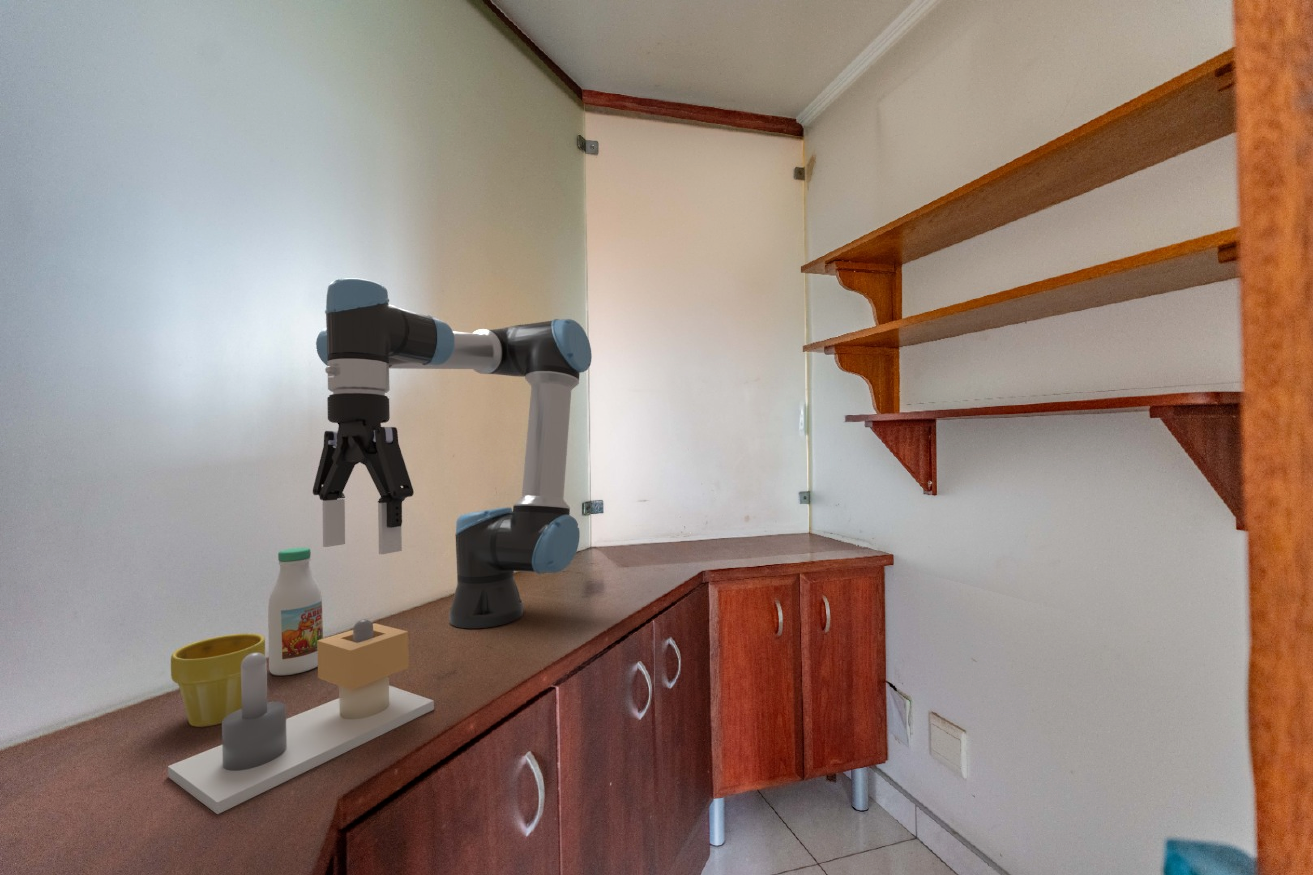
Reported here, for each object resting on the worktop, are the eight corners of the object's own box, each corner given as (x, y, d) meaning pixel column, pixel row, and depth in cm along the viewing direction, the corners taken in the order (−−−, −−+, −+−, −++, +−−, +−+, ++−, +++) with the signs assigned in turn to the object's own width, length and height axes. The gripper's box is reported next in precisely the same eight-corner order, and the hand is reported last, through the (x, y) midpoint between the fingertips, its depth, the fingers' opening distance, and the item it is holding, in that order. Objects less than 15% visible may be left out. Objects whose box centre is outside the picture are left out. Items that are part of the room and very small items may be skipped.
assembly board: (379, 689, 83) (377, 602, 84) (433, 709, 77) (431, 613, 77) (168, 776, 62) (166, 659, 62) (217, 814, 55) (215, 682, 55)
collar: (375, 657, 80) (374, 623, 81) (408, 667, 76) (408, 631, 76) (317, 678, 74) (317, 640, 74) (351, 690, 69) (350, 650, 70)
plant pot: (280, 707, 79) (279, 638, 79) (191, 742, 70) (189, 664, 70) (245, 692, 84) (244, 628, 84) (158, 723, 75) (157, 651, 75)
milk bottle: (261, 679, 89) (258, 555, 89) (279, 662, 96) (277, 547, 96) (315, 672, 91) (312, 551, 91) (329, 656, 98) (326, 543, 98)
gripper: (284, 399, 79) (285, 546, 79) (386, 383, 66) (389, 561, 65) (337, 402, 86) (339, 539, 85) (440, 388, 72) (443, 550, 72)
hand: (360, 549), depth 75 cm, fingers open, 13 cm apart
